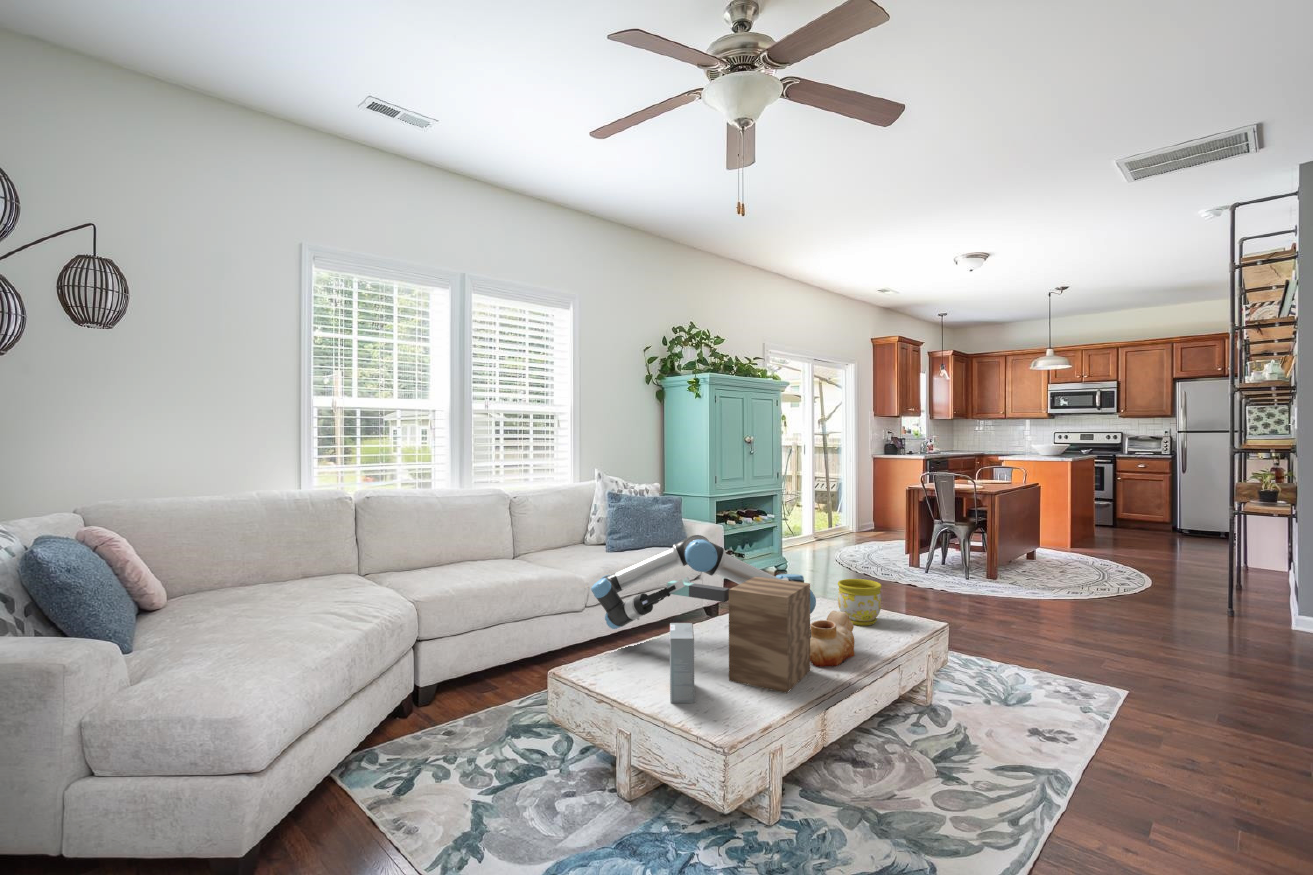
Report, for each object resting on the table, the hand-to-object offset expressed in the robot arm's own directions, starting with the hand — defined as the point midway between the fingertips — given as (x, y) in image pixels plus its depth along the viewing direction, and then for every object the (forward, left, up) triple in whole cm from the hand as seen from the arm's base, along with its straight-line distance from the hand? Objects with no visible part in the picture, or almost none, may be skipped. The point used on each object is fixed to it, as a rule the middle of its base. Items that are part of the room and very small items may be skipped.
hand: (685, 581), depth 235 cm
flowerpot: (-78, +41, -28) cm, 93 cm away
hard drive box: (+28, +14, -28) cm, 42 cm away
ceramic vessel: (-28, +44, -28) cm, 60 cm away
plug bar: (0, +5, -5) cm, 7 cm away
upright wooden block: (0, +32, -28) cm, 43 cm away
